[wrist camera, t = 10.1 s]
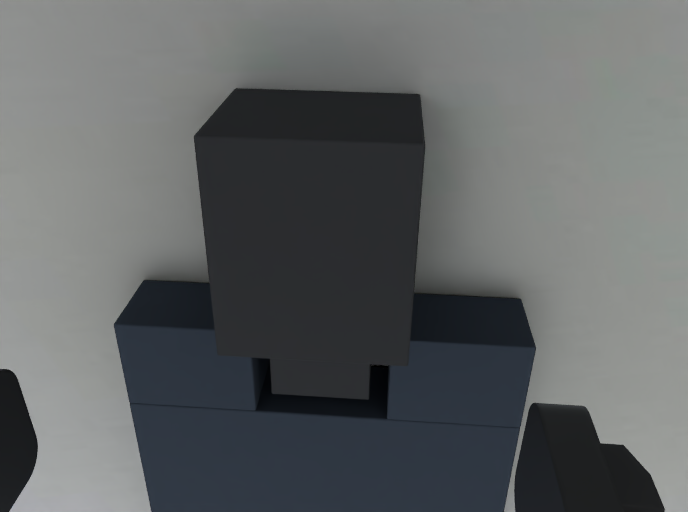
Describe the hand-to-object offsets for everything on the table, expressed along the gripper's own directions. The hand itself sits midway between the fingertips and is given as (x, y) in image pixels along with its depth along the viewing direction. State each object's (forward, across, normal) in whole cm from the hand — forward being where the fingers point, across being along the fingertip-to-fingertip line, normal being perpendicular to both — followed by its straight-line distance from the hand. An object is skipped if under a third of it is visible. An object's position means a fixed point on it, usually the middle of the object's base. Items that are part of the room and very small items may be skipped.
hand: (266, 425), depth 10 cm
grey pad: (+10, 0, +10) cm, 14 cm away
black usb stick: (+10, 0, +2) cm, 10 cm away
